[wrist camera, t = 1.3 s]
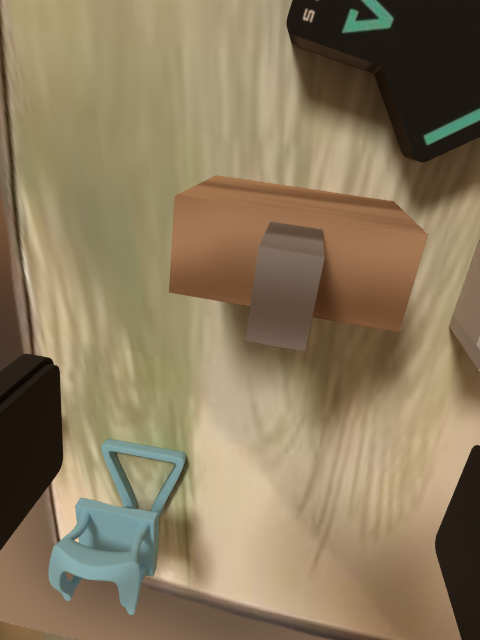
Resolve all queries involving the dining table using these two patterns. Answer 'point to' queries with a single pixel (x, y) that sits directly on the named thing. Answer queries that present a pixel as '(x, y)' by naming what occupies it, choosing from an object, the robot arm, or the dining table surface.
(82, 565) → the chair
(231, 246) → the walnut cabinet
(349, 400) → the dining table surface
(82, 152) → the dining table surface
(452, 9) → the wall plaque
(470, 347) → the wall board
